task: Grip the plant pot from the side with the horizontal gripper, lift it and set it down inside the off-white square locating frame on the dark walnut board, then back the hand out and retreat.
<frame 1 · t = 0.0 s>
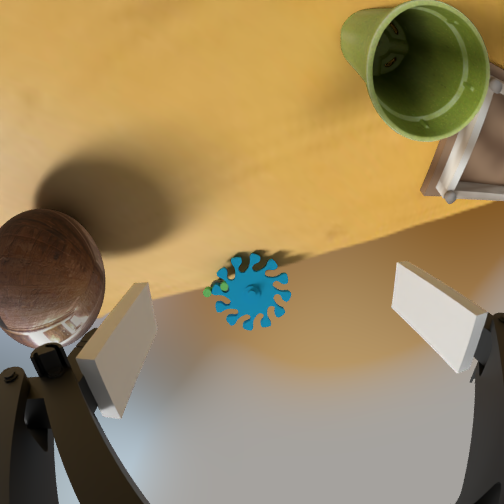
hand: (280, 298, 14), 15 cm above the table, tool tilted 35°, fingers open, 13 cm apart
blue plastic toy: (245, 267, 39), on the table
wooden sphere: (62, 226, 29), on the table
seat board: (493, 138, 22), on the table
plant pot: (373, 40, 16), on the table
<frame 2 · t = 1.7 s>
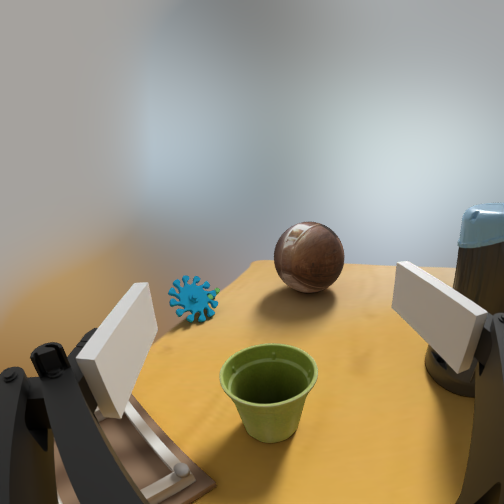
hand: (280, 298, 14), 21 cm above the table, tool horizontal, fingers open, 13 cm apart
blue plastic toy: (198, 315, 56), on the table
wooden sphere: (309, 290, 63), on the table
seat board: (103, 469, 21), on the table
plant pot: (271, 425, 28), on the table
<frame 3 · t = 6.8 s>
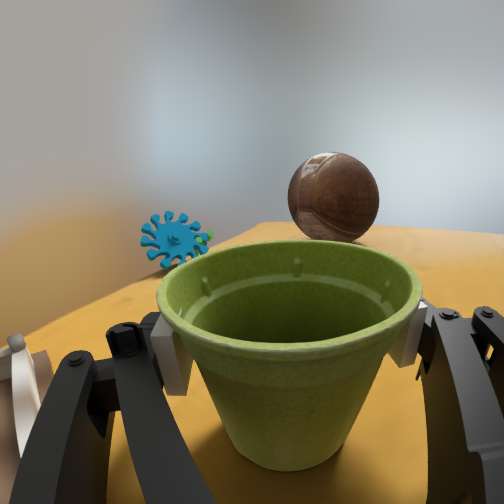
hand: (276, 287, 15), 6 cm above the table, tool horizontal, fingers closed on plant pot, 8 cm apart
blue plastic toy: (181, 265, 41), on the table
wooden sphere: (333, 244, 47), on the table
plant pot: (289, 430, 13), on the table, touching gripper
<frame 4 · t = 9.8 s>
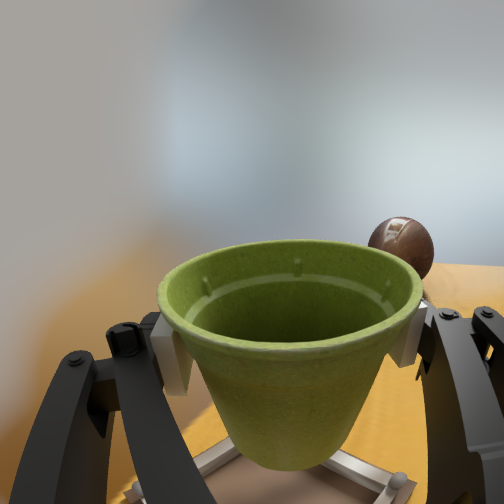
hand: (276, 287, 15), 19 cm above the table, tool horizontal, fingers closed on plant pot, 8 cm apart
wooden sphere: (397, 286, 57), on the table
plant pot: (289, 429, 13), point 12 cm above the table, touching gripper
when the fingers open (9 cm above the table, at t = 13.0 s): plant pot drops 1 cm, resting on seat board.
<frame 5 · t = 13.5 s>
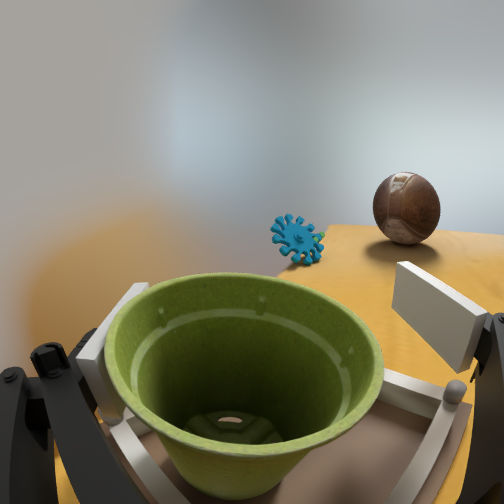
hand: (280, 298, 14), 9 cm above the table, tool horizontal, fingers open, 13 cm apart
blue plastic toy: (300, 260, 50), on the table
wooden sphere: (405, 244, 55), on the table
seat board: (288, 455, 13), on the table
plant pot: (230, 456, 12), point 1 cm above the table, touching gripper, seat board
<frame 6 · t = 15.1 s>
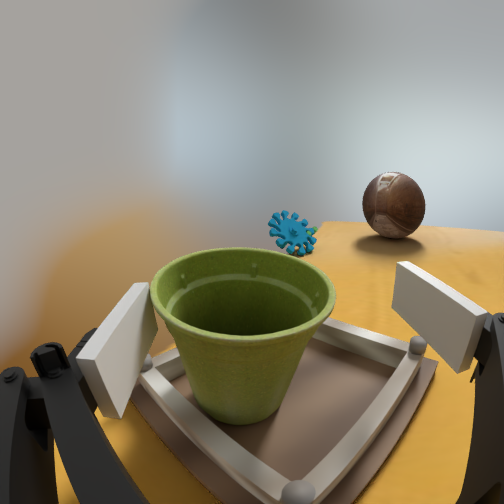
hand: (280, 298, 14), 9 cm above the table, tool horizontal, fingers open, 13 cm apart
blue plastic toy: (295, 252, 55), on the table
wooden sphere: (392, 238, 61), on the table
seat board: (284, 395, 19), on the table
plant pot: (238, 394, 18), point 1 cm above the table, touching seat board
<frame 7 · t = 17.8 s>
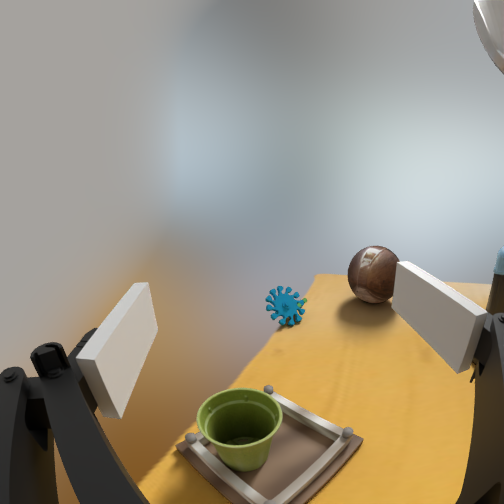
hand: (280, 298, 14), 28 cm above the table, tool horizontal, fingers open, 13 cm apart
blue plastic toy: (287, 319, 68), on the table
wooden sphere: (372, 301, 73), on the table
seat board: (269, 453, 31), on the table
plant pot: (245, 455, 30), point 1 cm above the table, touching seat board
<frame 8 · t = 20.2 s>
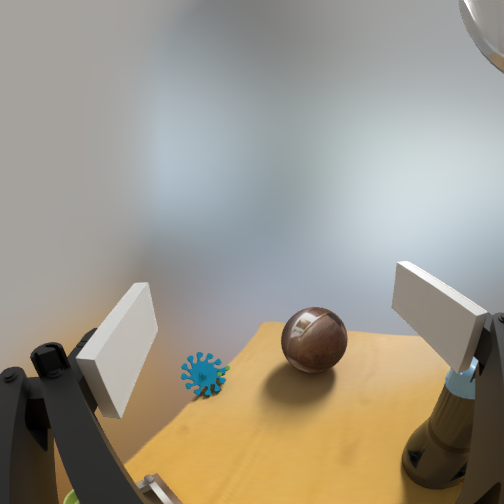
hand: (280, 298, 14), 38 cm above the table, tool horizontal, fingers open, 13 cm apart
blue plastic toy: (208, 386, 59), on the table
wooden sphere: (312, 366, 64), on the table
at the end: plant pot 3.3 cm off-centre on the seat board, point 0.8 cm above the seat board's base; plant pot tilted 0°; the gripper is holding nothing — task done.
